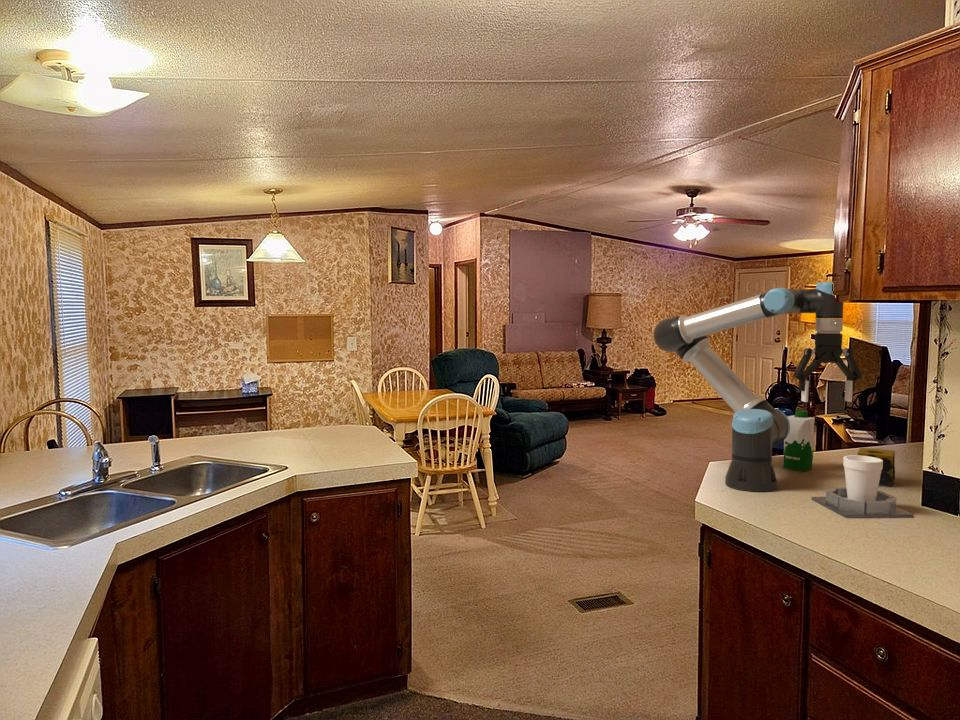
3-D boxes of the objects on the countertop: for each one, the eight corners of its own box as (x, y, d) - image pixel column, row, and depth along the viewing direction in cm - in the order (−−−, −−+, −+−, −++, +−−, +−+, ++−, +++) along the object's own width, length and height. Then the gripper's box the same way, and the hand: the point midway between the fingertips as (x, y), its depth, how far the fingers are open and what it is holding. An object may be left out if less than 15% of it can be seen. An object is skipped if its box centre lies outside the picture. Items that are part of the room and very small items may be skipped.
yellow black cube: (895, 481, 219) (896, 450, 218) (893, 487, 210) (894, 455, 210) (858, 476, 224) (859, 447, 224) (856, 483, 216) (857, 452, 215)
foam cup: (886, 511, 182) (887, 463, 182) (848, 508, 184) (850, 461, 184) (873, 501, 192) (875, 456, 191) (837, 499, 194) (839, 454, 193)
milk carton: (815, 468, 236) (817, 411, 234) (804, 472, 230) (806, 414, 228) (790, 464, 242) (791, 409, 241) (779, 468, 236) (780, 411, 235)
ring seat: (846, 518, 179) (846, 503, 179) (811, 499, 197) (811, 486, 197) (913, 517, 179) (914, 503, 179) (872, 499, 197) (873, 486, 197)
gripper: (794, 333, 204) (792, 403, 205) (876, 332, 204) (873, 402, 206) (782, 332, 211) (780, 400, 213) (861, 332, 212) (859, 399, 213)
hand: (826, 401), depth 209 cm, fingers open, 13 cm apart
